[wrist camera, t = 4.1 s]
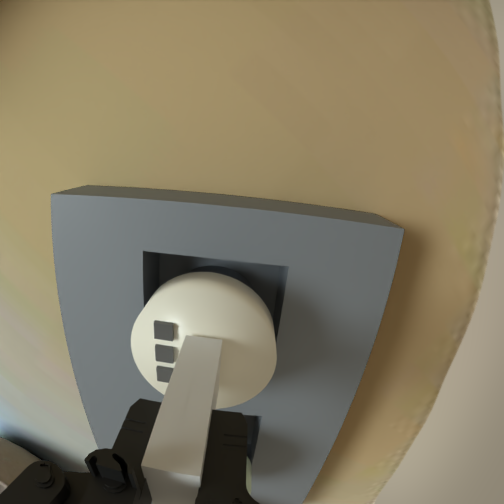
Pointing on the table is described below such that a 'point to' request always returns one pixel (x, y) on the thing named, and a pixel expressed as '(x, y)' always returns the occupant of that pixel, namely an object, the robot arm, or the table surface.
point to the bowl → (12, 462)
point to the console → (264, 284)
